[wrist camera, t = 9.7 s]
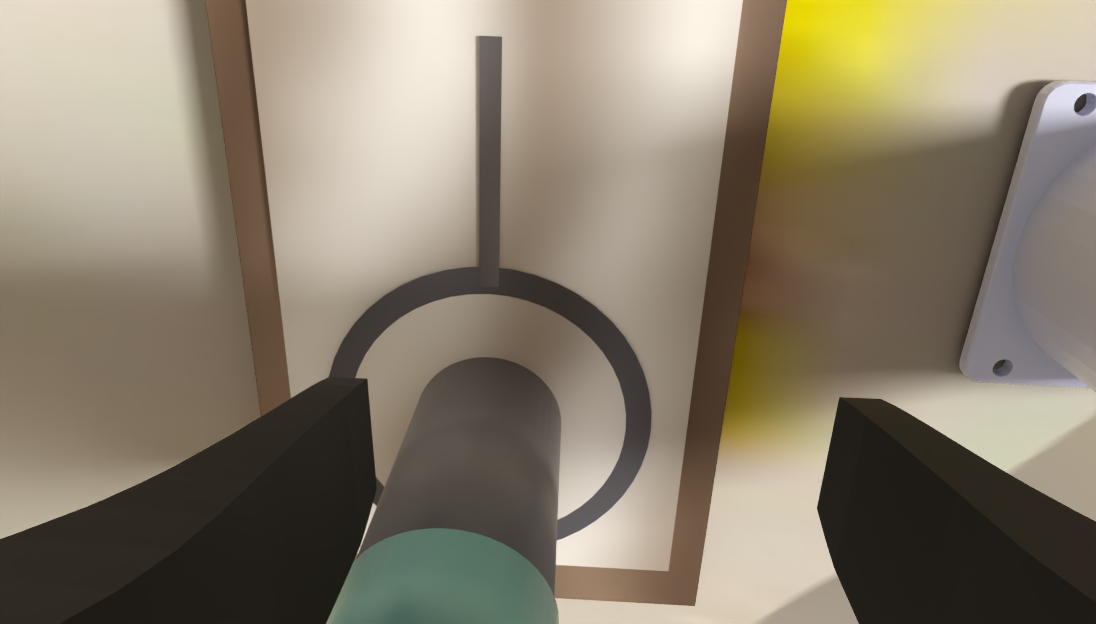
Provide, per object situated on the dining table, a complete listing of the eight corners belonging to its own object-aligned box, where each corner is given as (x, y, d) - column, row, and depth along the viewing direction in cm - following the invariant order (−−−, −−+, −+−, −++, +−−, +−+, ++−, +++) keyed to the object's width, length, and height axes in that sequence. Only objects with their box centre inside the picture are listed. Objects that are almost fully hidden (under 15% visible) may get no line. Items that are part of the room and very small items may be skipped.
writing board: (791, -123, 16) (812, -135, 15) (689, 578, 24) (696, 614, 23) (210, -145, 17) (176, -158, 15) (296, 556, 24) (279, 590, 23)
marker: (567, 357, 19) (558, 677, 10) (562, 488, 21) (549, 865, 12) (409, 350, 20) (260, 662, 10) (416, 481, 21) (292, 851, 12)
